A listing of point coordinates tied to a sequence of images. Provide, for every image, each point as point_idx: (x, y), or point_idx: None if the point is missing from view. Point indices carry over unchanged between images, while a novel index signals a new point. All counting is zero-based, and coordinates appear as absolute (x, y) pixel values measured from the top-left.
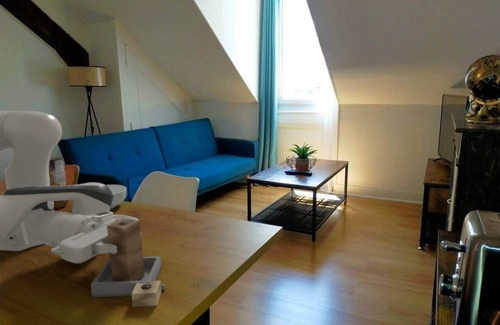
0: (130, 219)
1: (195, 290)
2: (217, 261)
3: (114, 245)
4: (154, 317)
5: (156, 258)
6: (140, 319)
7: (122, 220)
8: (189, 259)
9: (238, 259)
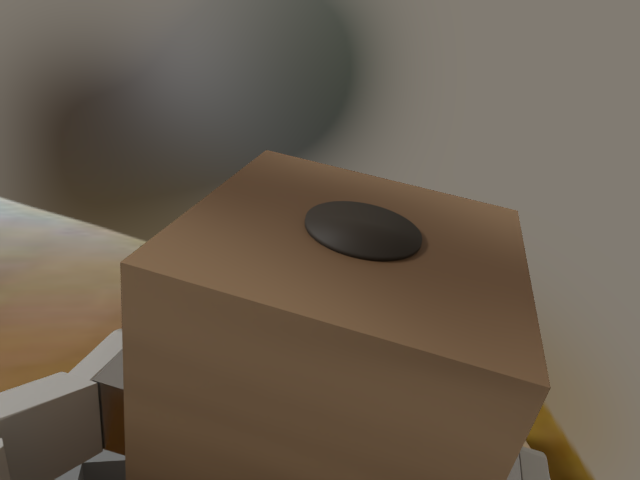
0: (212, 194)
1: None
2: (79, 285)
3: (529, 456)
4: (540, 424)
5: (95, 460)
6: (581, 469)
7: (245, 252)
8: (4, 377)
9: (85, 239)
